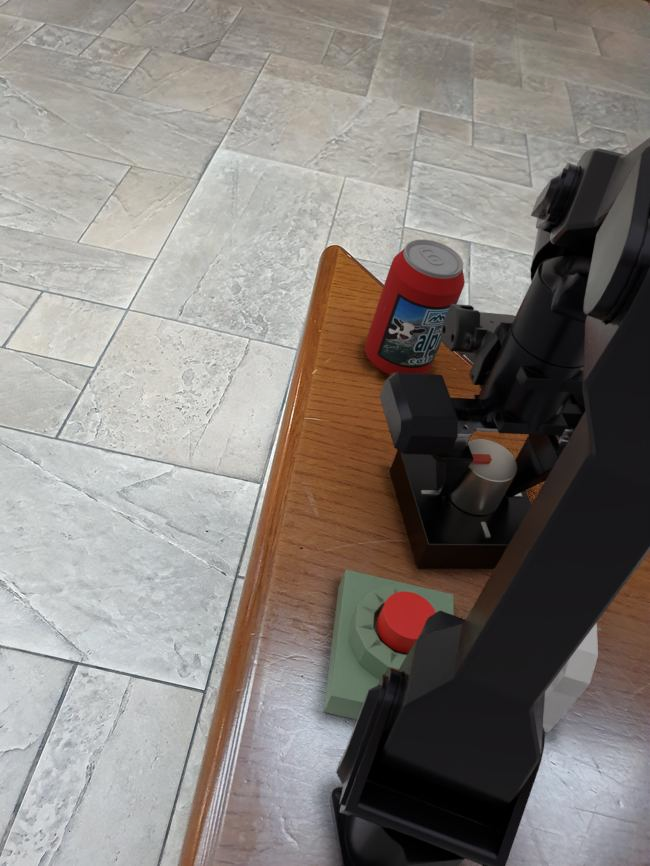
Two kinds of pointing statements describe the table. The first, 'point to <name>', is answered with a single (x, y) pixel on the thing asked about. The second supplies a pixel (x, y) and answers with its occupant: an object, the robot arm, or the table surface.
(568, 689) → the light switch
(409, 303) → the beverage can
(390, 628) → the light button
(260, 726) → the table surface
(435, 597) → the switch block
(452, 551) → the dimmer panel
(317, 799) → the table surface
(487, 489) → the dimmer knob
